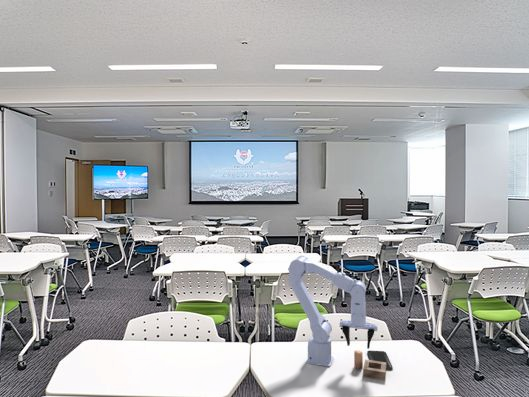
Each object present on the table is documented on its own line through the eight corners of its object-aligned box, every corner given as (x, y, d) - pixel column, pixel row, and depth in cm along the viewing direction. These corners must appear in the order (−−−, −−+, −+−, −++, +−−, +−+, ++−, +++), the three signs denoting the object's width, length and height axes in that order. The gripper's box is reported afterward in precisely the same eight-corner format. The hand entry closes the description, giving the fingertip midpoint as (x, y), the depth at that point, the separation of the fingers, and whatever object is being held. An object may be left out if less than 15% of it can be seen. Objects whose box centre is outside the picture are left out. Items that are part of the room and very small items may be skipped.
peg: (353, 368, 146) (353, 353, 146) (354, 364, 149) (354, 349, 149) (362, 369, 145) (362, 354, 145) (363, 365, 148) (362, 351, 148)
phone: (385, 351, 159) (393, 368, 144) (385, 353, 159) (393, 371, 144) (366, 350, 160) (372, 367, 145) (366, 353, 160) (372, 370, 145)
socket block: (363, 376, 140) (363, 368, 140) (365, 366, 147) (365, 359, 147) (385, 380, 137) (385, 372, 137) (386, 370, 144) (386, 362, 144)
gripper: (338, 313, 145) (338, 347, 146) (376, 318, 140) (376, 353, 141) (341, 308, 152) (341, 340, 152) (377, 311, 147) (377, 345, 147)
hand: (358, 346), depth 147 cm, fingers open, 7 cm apart
